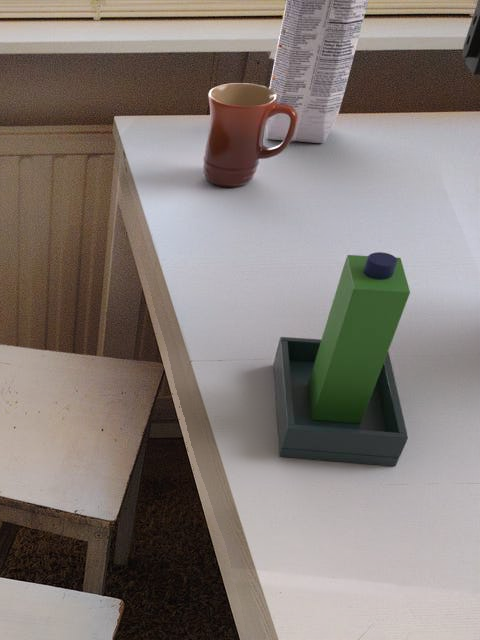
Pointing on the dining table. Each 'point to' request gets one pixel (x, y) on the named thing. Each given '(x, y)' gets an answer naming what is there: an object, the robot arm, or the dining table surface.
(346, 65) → the juice carton
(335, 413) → the green drink carton
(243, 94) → the mug
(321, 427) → the dark grey tray
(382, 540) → the dining table surface
